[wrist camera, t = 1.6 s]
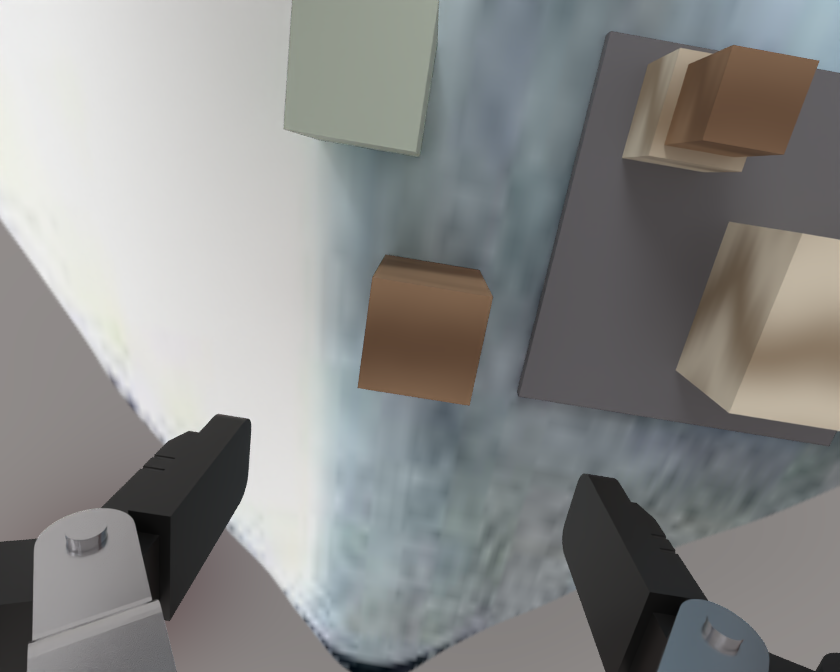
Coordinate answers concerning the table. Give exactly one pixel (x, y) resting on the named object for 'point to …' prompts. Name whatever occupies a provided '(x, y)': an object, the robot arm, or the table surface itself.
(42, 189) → the table surface
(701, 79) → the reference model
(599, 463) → the table surface
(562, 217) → the charcoal mat
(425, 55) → the sage block
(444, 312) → the walnut block
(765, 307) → the birch base block
